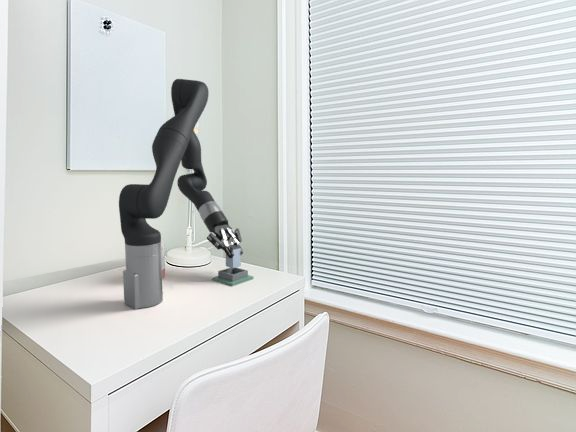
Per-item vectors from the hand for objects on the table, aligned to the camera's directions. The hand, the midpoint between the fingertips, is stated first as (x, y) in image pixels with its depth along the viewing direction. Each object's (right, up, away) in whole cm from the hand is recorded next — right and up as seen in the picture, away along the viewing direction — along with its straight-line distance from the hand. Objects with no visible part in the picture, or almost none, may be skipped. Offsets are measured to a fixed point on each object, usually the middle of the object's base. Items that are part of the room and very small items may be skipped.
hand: (236, 255), depth 113 cm
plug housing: (-1, -4, +2) cm, 4 cm away
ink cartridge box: (-28, -8, 0) cm, 30 cm away
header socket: (-2, -8, +2) cm, 9 cm away
